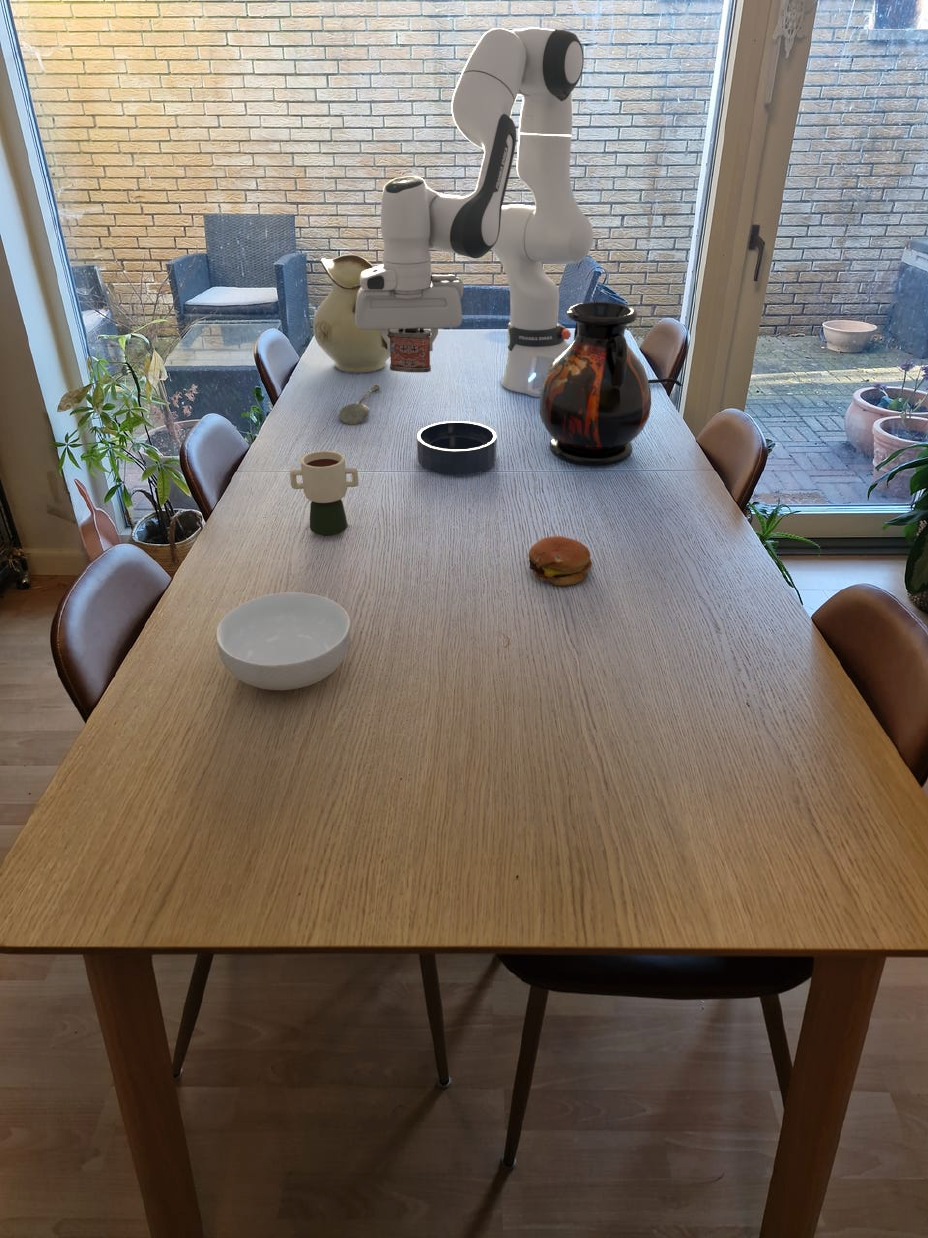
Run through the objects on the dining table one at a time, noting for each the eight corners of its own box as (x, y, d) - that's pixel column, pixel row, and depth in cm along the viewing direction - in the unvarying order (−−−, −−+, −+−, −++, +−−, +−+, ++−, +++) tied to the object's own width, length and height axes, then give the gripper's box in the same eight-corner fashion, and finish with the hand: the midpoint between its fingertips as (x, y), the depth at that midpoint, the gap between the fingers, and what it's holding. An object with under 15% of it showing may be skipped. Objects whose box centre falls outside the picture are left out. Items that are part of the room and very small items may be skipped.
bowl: (490, 445, 180) (491, 420, 177) (500, 476, 167) (501, 449, 164) (416, 448, 179) (415, 422, 176) (420, 479, 166) (419, 452, 163)
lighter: (431, 367, 174) (431, 315, 168) (429, 373, 171) (429, 320, 165) (391, 365, 174) (390, 313, 169) (388, 371, 172) (386, 318, 166)
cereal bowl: (294, 727, 106) (288, 680, 102) (195, 682, 113) (186, 637, 109) (379, 657, 118) (376, 613, 114) (284, 621, 125) (279, 578, 122)
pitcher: (330, 351, 235) (322, 250, 221) (417, 355, 232) (415, 253, 218) (305, 377, 216) (295, 269, 202) (400, 382, 213) (396, 273, 200)
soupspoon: (334, 425, 191) (364, 429, 190) (334, 411, 189) (363, 414, 188) (363, 389, 208) (390, 392, 208) (363, 375, 206) (390, 378, 206)
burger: (579, 554, 142) (581, 528, 139) (598, 583, 134) (600, 556, 132) (520, 560, 140) (521, 534, 138) (535, 590, 133) (536, 563, 130)
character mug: (361, 520, 152) (357, 449, 145) (361, 539, 146) (356, 466, 139) (297, 522, 151) (289, 451, 144) (294, 542, 145) (286, 468, 138)
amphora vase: (520, 440, 183) (526, 299, 167) (615, 428, 188) (628, 291, 173) (562, 481, 165) (572, 329, 150) (664, 467, 171) (684, 319, 156)
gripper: (461, 270, 166) (461, 344, 174) (352, 272, 165) (357, 347, 172) (465, 278, 161) (464, 354, 169) (352, 280, 160) (357, 357, 167)
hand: (409, 350), depth 171 cm, fingers closed on lighter, 6 cm apart
